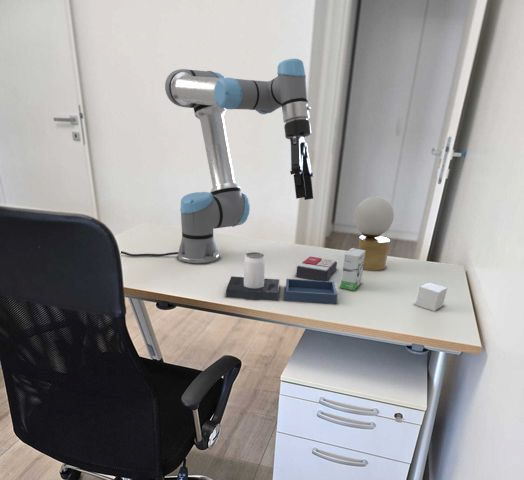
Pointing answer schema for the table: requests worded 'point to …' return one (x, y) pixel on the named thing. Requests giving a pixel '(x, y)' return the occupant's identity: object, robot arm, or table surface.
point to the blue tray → (310, 291)
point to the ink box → (352, 268)
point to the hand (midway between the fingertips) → (305, 198)
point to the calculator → (316, 268)
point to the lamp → (374, 230)
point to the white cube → (431, 296)
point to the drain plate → (253, 289)
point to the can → (254, 270)
